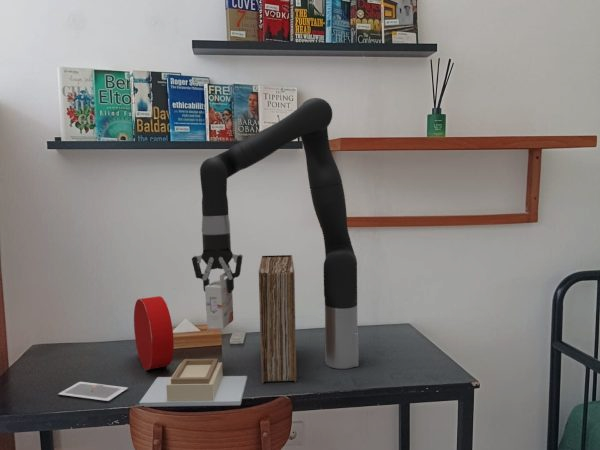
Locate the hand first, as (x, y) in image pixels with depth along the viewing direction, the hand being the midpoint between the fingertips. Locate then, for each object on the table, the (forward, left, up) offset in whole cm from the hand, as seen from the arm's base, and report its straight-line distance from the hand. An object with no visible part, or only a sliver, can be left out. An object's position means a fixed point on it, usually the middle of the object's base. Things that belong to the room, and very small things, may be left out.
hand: (218, 292), depth 136 cm
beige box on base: (+4, +14, -22) cm, 27 cm away
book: (-16, -3, -22) cm, 28 cm away
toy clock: (+20, -4, -22) cm, 30 cm away
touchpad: (+30, +13, -23) cm, 40 cm away
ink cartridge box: (0, 0, -9) cm, 9 cm away
